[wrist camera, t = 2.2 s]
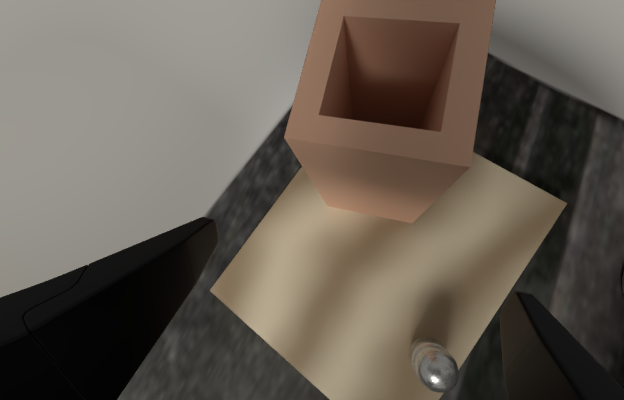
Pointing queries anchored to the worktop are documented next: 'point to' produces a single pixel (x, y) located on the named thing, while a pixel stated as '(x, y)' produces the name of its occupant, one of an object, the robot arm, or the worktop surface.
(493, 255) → the board
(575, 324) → the worktop surface
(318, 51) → the sleeve
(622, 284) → the travel mug
